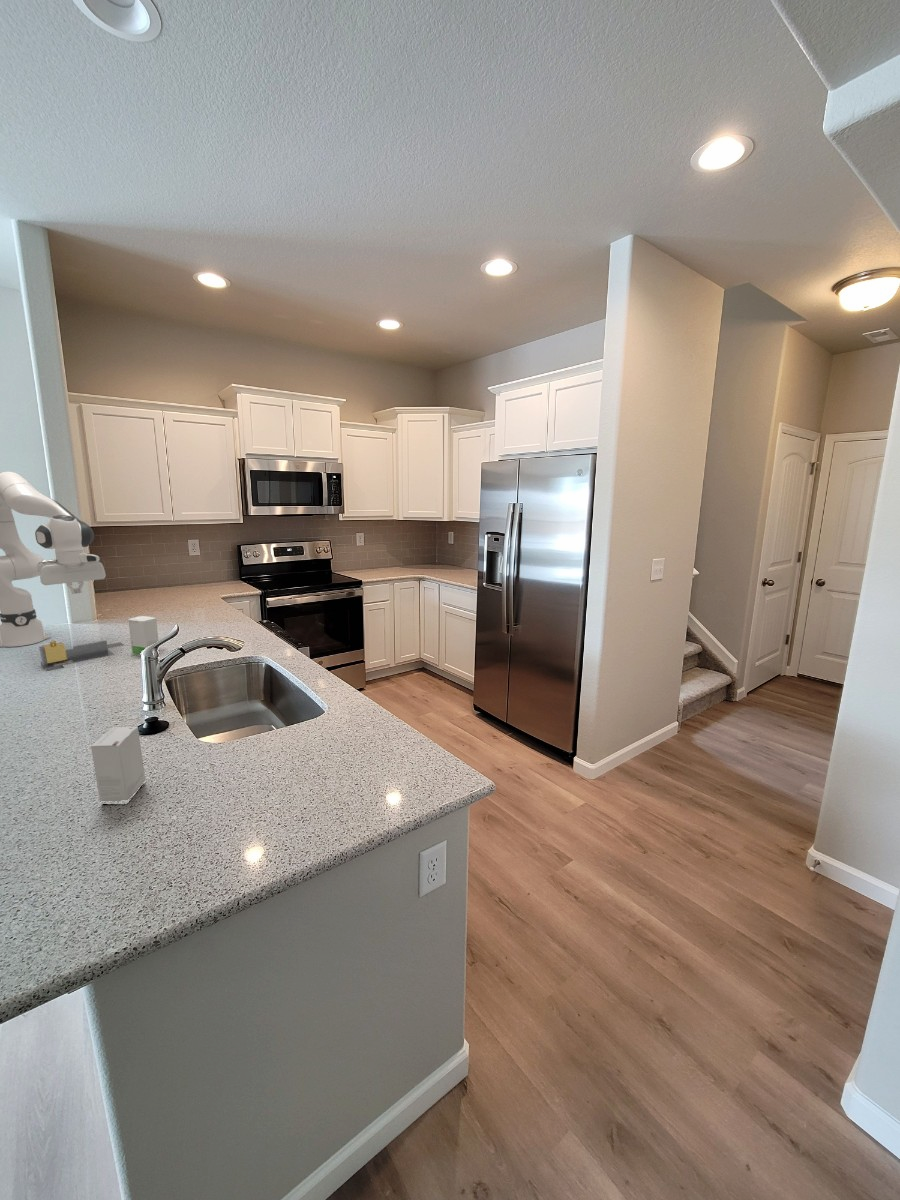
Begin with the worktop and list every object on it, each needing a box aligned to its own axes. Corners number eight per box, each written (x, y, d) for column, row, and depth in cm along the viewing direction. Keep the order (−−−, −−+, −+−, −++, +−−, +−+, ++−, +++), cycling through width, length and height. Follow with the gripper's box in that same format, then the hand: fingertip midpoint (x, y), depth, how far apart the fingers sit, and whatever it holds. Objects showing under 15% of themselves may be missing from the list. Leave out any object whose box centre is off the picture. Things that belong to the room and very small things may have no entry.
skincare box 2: (131, 655, 201) (126, 619, 198) (145, 650, 207) (140, 615, 204) (147, 657, 199) (142, 620, 195) (161, 652, 205) (156, 616, 202)
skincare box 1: (120, 784, 114) (111, 726, 110) (148, 783, 114) (139, 724, 111) (99, 807, 105) (88, 744, 102) (128, 805, 106) (118, 743, 103)
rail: (41, 664, 190) (37, 645, 189) (107, 651, 206) (104, 633, 205) (46, 671, 184) (42, 650, 182) (114, 656, 200) (111, 638, 198)
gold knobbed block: (45, 660, 189) (41, 642, 187) (64, 656, 193) (61, 638, 192) (47, 663, 186) (44, 644, 184) (67, 659, 190) (63, 641, 188)
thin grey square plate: (101, 648, 211) (101, 645, 210) (120, 644, 216) (120, 642, 215) (105, 651, 207) (105, 648, 206) (124, 647, 212) (124, 645, 211)
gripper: (37, 561, 179) (44, 598, 182) (103, 556, 193) (109, 590, 196) (34, 560, 183) (41, 596, 186) (99, 555, 198) (104, 588, 201)
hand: (76, 593), depth 191 cm, fingers closed
